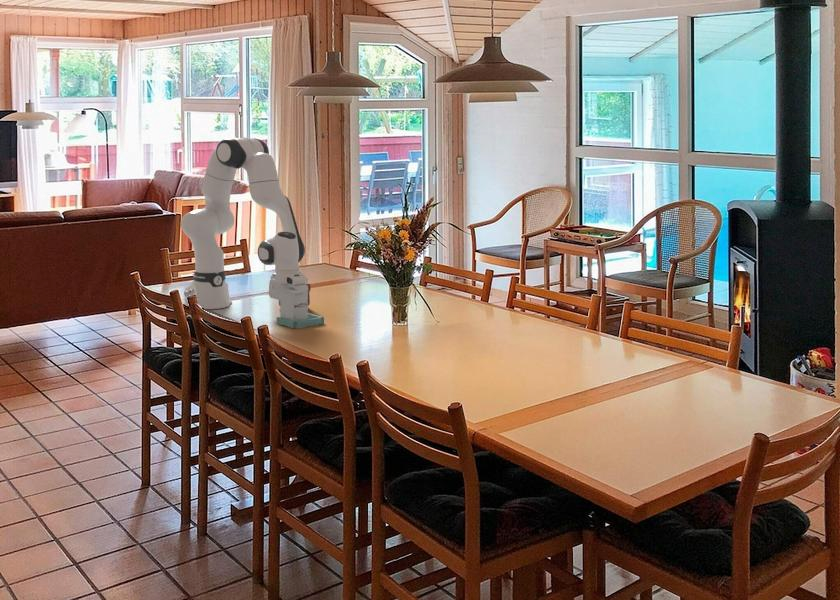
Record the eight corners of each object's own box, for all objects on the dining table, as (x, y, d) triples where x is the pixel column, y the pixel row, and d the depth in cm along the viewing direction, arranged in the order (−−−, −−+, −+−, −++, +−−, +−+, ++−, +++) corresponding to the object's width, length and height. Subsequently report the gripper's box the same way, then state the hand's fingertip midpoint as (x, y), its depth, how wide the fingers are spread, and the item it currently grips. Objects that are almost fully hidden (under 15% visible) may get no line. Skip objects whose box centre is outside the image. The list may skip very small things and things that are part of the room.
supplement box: (292, 326, 339) (292, 292, 336) (279, 323, 344) (279, 289, 341) (308, 323, 344) (308, 289, 341) (295, 320, 349) (295, 286, 346)
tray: (276, 323, 343) (276, 317, 343) (305, 318, 352) (305, 312, 352) (295, 329, 335) (294, 322, 335) (324, 323, 344) (324, 317, 343)
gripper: (264, 273, 351) (265, 309, 354) (296, 281, 337) (297, 318, 339) (278, 271, 356) (278, 307, 358) (310, 279, 341) (311, 316, 344)
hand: (288, 313), depth 349 cm, fingers closed
